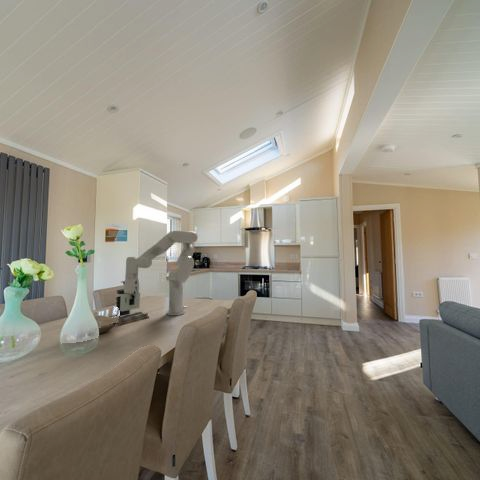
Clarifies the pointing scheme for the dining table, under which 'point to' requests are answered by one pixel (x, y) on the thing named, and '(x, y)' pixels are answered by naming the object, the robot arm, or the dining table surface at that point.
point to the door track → (132, 318)
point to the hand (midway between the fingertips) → (130, 304)
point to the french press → (119, 301)
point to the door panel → (125, 302)
